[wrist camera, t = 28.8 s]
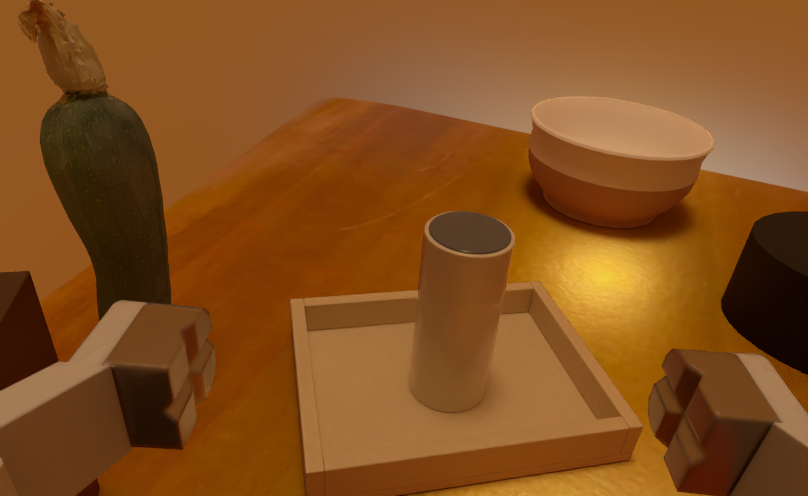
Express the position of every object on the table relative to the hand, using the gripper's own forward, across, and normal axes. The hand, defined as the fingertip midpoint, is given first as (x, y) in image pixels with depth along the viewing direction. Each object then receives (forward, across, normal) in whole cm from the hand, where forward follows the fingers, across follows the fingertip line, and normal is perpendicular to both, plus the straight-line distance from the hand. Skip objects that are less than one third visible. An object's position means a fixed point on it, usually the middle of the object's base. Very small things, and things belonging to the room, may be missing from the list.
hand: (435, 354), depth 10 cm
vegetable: (+15, +14, +18) cm, 27 cm away
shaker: (+16, -2, +17) cm, 23 cm away
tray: (+16, -2, +17) cm, 24 cm away
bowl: (+43, -18, +18) cm, 50 cm away
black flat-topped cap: (+24, -31, +17) cm, 43 cm away
